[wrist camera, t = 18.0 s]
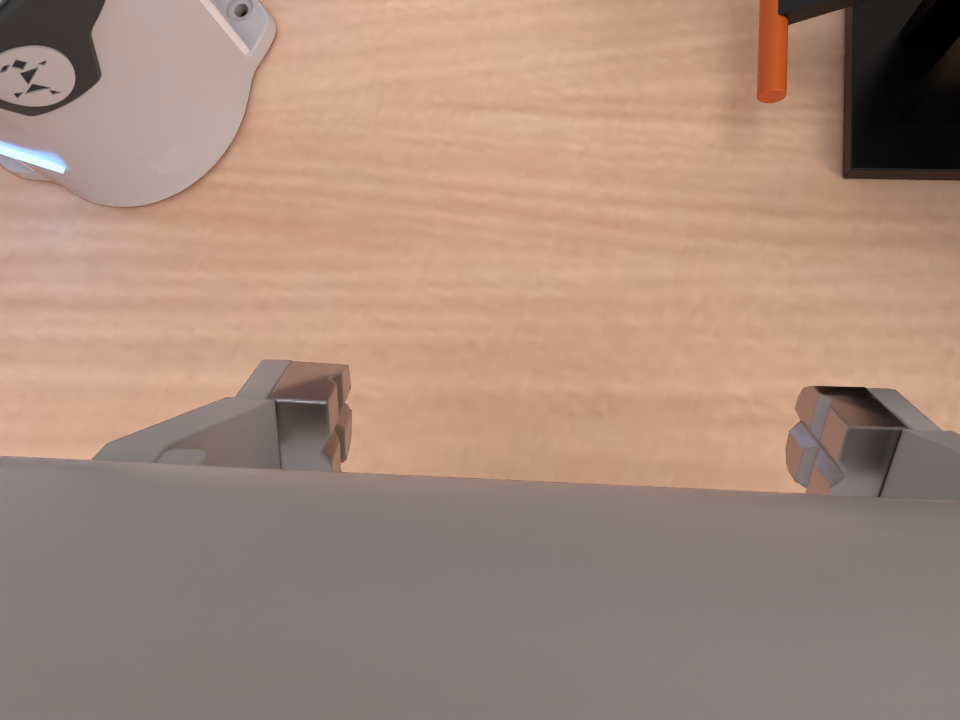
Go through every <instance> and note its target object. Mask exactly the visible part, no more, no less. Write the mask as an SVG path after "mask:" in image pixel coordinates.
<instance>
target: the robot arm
mask: <svg viewBox="0 0 960 720" xmlns="http://www.w3.org/2000/svg"><path fill="white" fill-rule="evenodd" d="M246 11H248V12H247V14H246V15H245V16H243V17H241V15H242V14H243V13H244V12H246ZM275 34H276V23H275V20H274V18H273V17H272V16H271V14H270V13H269V12H268V10H267V9H266V8H265V6H264V5H263V4H262V3H261V1H260V0H0V164H1V165H2V166H3V167H4V168H5V169H7V170H8V171H10V172H11V173H13V174H14V175H16V176H18V177H20V178H24V179H30V180H40V181H52V182H54V183H57V184H59V185H61V186H63V187H64V188H66V189H68V190H69V191H71V192H72V193H74V194H76V195H77V196H79V197H81V198H83V199H85V200H88V201H90V202H94V203H97V204H101V205H105V206H112V207H135V206H142V205H147V204H151V203H155V202H158V201H161V200H164V199H166V198H169V197H171V196H173V195H175V194H177V193H179V192H181V191H183V190H184V189H186V188H188V187H189V186H190V185H192V184H193V183H195V182H196V181H197V180H199V179H200V178H201V177H202V176H203V175H205V174H206V173H207V172H208V171H209V170H210V169H211V168H212V167H213V166H214V165H215V164H216V163H217V161H218V160H219V159H220V158H221V157H222V155H223V154H224V153H225V151H226V150H227V148H228V147H229V145H230V144H231V142H232V140H233V139H234V137H235V135H236V133H237V131H238V129H239V127H240V124H241V122H242V120H243V117H244V114H245V110H246V107H247V103H248V98H249V93H250V87H251V83H252V79H253V75H254V73H255V70H256V68H257V67H258V65H259V64H260V62H261V61H262V59H263V57H264V56H265V54H266V53H267V51H268V49H269V48H270V46H271V44H272V42H273V40H274V37H275ZM350 389H351V383H350V371H349V367H348V365H344V364H329V363H313V362H297V361H291V360H262V361H261V362H260V363H259V365H258V366H257V368H256V369H255V370H254V372H253V373H252V374H251V376H250V377H249V379H248V380H247V381H246V383H245V384H244V385H243V387H242V388H241V390H240V391H239V392H238V394H237V395H236V396H235V398H231V397H226V398H223V399H221V400H218V401H215V402H213V403H210V404H208V405H205V406H202V407H200V408H197V409H195V410H192V411H189V412H187V413H184V414H182V415H179V416H176V417H174V418H171V419H169V420H166V421H164V422H161V423H158V424H156V425H153V426H151V427H148V428H145V429H143V430H140V431H138V432H135V433H132V434H130V435H127V436H125V437H122V438H119V439H117V440H114V441H112V442H109V443H107V444H106V445H105V446H104V447H103V448H102V449H101V450H100V451H99V452H98V453H97V454H96V456H95V457H94V458H93V459H92V460H78V459H57V458H36V457H14V456H0V720H960V434H957V433H954V432H952V431H942V430H941V429H940V428H939V427H937V426H936V425H935V424H934V423H933V422H932V421H931V420H929V419H928V418H927V417H926V416H925V415H924V414H923V413H921V412H920V411H919V410H918V409H917V408H916V407H915V406H913V405H912V404H911V403H910V402H909V401H908V400H907V399H905V398H904V397H903V396H902V395H901V394H900V393H899V392H897V391H896V390H894V389H889V388H865V387H833V386H809V387H805V388H803V389H802V391H801V393H800V395H799V396H798V400H797V403H796V407H795V411H796V412H797V414H798V416H799V418H800V420H801V421H800V422H799V423H797V424H796V425H795V426H794V427H793V428H792V429H791V430H790V431H789V434H788V439H787V444H786V463H787V467H788V470H789V473H790V474H791V476H792V478H793V479H794V481H795V482H797V483H799V484H801V485H802V486H804V487H806V488H807V490H806V494H802V493H780V492H759V491H738V490H716V489H695V488H674V487H653V486H631V485H610V484H589V483H567V482H546V481H525V480H503V479H482V478H461V477H439V476H418V475H397V474H375V473H354V472H341V463H342V462H344V461H345V460H346V459H347V456H348V453H349V448H350V442H351V434H352V410H351V409H350V408H349V407H348V405H347V404H346V403H345V402H346V399H347V397H348V394H349V392H350Z"/></svg>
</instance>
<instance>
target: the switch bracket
mask: <svg viewBox="0 0 960 720" xmlns="http://www.w3.org/2000/svg"><path fill="white" fill-rule="evenodd" d="M843 178H864V179H928V180H960V0H869V1H866V2H863V3H859V4H856V5H853V6H849V7H846V10H845V82H844V153H843Z"/></svg>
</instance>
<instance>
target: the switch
mask: <svg viewBox="0 0 960 720" xmlns="http://www.w3.org/2000/svg"><path fill="white" fill-rule="evenodd" d="M866 1H869V0H760V7H759V39H758V71H757V99H758V101H760V102H763V103H774V102H778V101H781V100H782V99H784V98H785V96H786V88H787V48H788V25H790V24H793V23H797V22H800V21H803V20H807V19H810V18H813V17H817V16H820V15H823V14H826V13H830V12H833V11H836V10H840V9H843V8H846V7H849V6H853V5H856V4H859V3H863V2H866Z"/></svg>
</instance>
